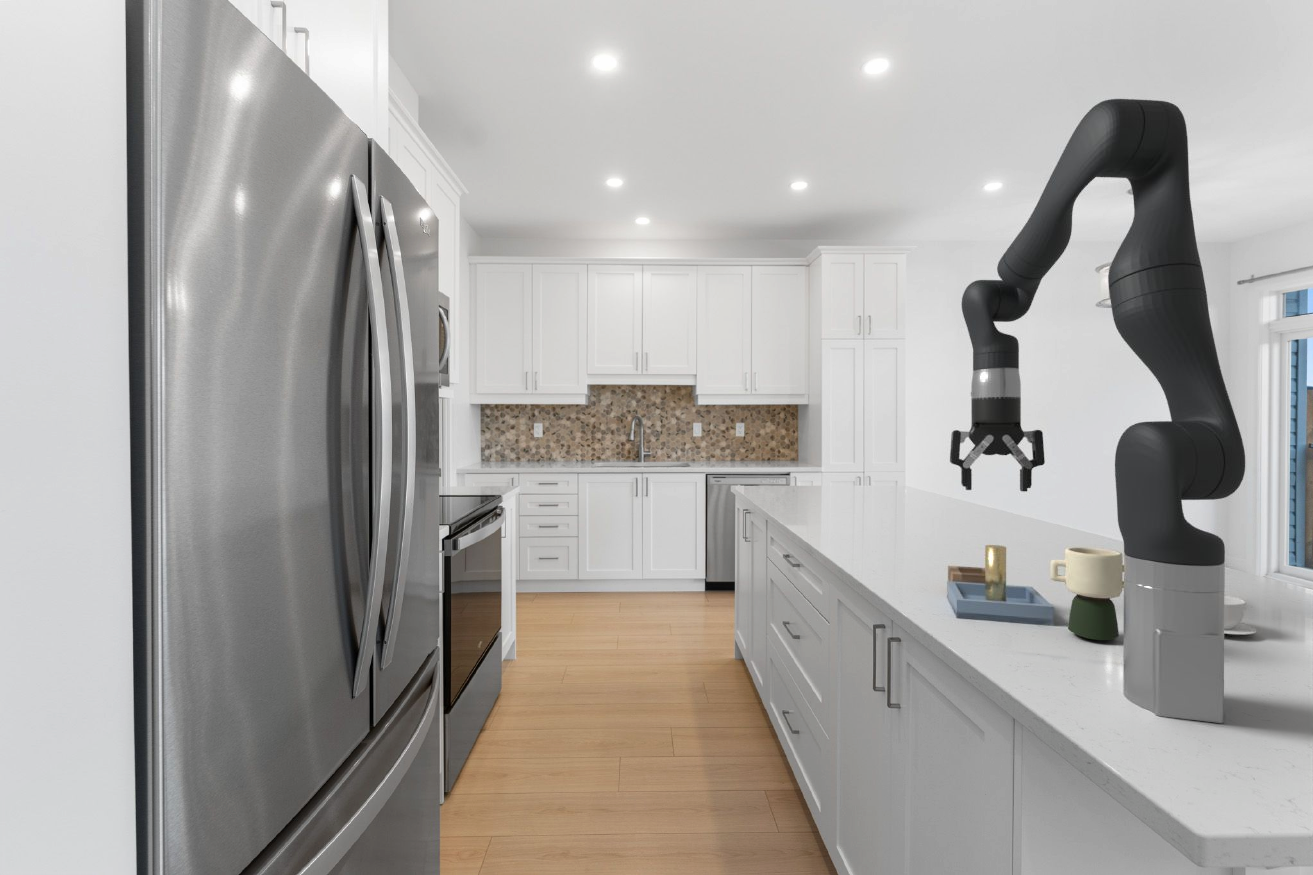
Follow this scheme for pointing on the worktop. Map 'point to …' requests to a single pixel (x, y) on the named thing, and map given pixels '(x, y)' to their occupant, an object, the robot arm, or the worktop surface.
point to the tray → (999, 604)
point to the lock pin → (995, 573)
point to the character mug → (1092, 589)
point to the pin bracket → (966, 574)
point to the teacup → (1235, 617)
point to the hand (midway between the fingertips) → (995, 490)
